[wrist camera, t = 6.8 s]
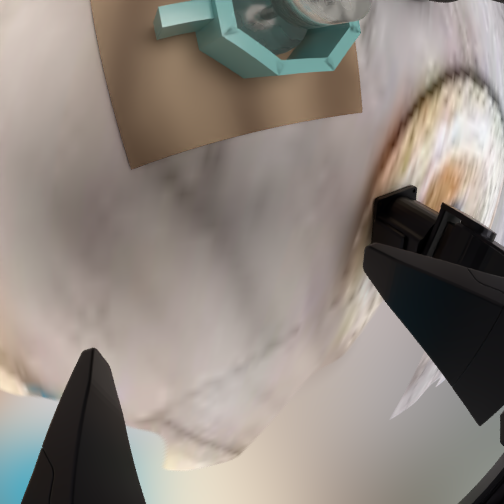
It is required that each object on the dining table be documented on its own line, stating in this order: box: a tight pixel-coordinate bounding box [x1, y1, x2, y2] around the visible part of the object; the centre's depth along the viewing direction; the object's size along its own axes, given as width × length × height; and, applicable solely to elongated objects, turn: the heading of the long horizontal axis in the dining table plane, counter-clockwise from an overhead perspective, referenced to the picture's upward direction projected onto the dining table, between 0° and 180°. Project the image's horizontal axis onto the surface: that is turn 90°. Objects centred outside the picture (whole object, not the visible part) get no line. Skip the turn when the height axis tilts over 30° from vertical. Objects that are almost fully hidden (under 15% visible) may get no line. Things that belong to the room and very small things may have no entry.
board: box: [91, 0, 362, 170], centre depth 15 cm, size 18×14×1 cm
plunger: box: [232, 0, 372, 55], centre depth 11 cm, size 6×6×8 cm
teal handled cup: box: [153, 0, 361, 78], centre depth 12 cm, size 11×8×5 cm
